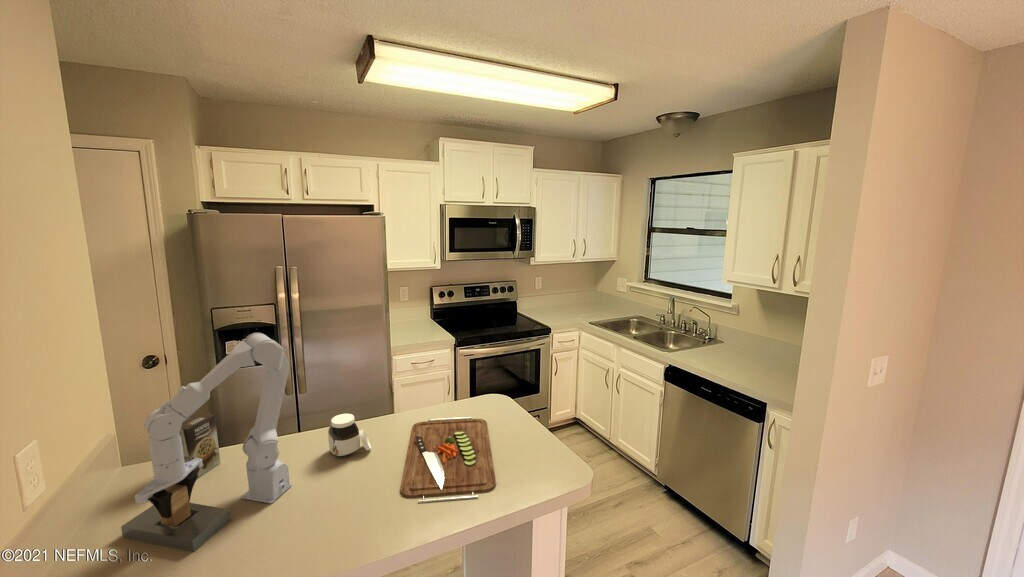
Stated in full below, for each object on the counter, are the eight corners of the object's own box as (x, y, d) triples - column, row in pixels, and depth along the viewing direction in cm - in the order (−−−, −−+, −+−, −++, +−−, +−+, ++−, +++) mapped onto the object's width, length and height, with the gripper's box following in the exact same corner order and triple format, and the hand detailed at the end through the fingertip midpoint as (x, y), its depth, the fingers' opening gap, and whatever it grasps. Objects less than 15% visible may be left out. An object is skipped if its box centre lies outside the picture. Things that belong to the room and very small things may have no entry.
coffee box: (193, 481, 118) (186, 429, 115) (175, 478, 119) (167, 427, 116) (221, 463, 127) (215, 414, 124) (204, 460, 128) (197, 411, 125)
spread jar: (325, 451, 134) (323, 417, 132) (358, 437, 142) (356, 405, 140) (344, 466, 126) (342, 431, 124) (377, 450, 134) (375, 417, 132)
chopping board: (497, 498, 114) (498, 488, 113) (397, 506, 110) (397, 496, 109) (485, 418, 157) (485, 410, 157) (413, 422, 154) (413, 414, 153)
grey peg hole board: (231, 520, 104) (230, 509, 103) (194, 551, 94) (192, 540, 93) (165, 508, 107) (163, 498, 107) (123, 537, 98) (121, 526, 97)
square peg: (191, 514, 102) (186, 485, 100) (175, 526, 98) (170, 496, 96) (177, 512, 102) (173, 483, 101) (161, 524, 99) (156, 494, 97)
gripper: (183, 440, 105) (190, 488, 107) (120, 475, 91) (129, 529, 93) (207, 443, 104) (213, 492, 106) (146, 479, 90) (155, 534, 92)
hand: (175, 510), depth 100 cm, fingers closed on square peg, 4 cm apart
